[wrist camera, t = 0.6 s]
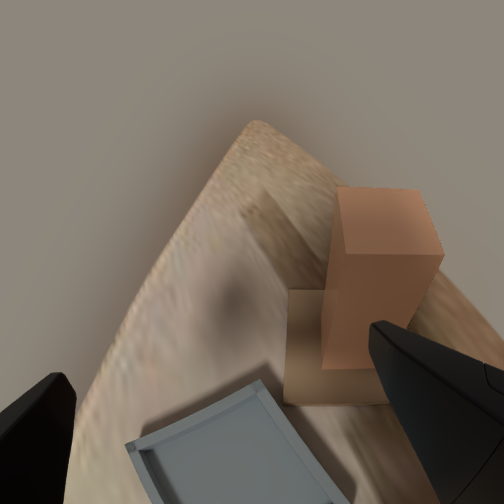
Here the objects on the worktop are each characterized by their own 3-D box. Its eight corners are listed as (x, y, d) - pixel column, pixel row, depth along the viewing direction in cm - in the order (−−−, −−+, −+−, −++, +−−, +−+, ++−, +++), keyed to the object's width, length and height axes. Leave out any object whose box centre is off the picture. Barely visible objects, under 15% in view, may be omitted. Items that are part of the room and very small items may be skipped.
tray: (352, 511, 15) (358, 513, 14) (211, 579, 12) (204, 586, 11) (261, 387, 22) (259, 378, 21) (136, 448, 19) (124, 444, 18)
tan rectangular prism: (380, 367, 21) (444, 254, 12) (321, 369, 22) (346, 253, 13) (373, 298, 26) (409, 171, 16) (320, 298, 26) (332, 167, 17)
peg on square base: (412, 401, 20) (435, 381, 17) (282, 405, 21) (281, 387, 18) (398, 294, 27) (411, 262, 23) (289, 294, 28) (288, 261, 25)
